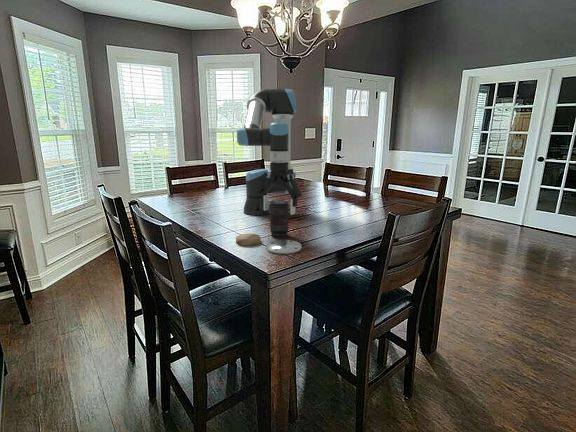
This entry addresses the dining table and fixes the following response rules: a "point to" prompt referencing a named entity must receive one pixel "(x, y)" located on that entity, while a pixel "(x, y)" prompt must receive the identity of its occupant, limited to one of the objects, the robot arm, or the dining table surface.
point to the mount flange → (283, 247)
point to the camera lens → (279, 218)
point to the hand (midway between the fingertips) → (279, 212)
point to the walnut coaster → (248, 239)
